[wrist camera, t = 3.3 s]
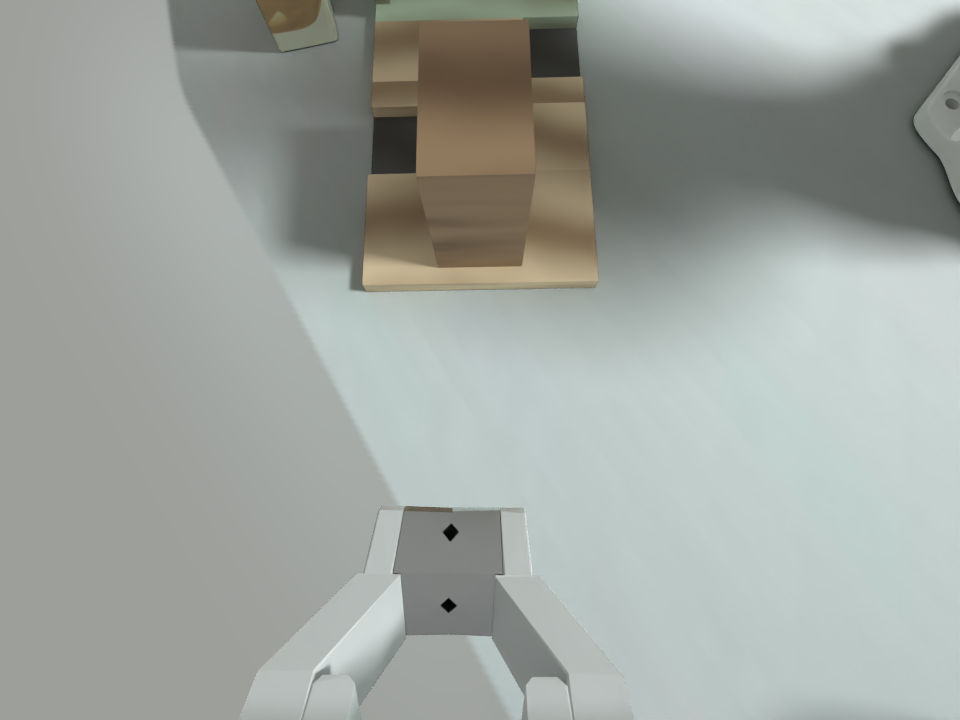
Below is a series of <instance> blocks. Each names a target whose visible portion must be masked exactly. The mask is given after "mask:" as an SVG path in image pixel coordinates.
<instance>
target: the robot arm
mask: <svg viewBox="0 0 960 720" xmlns="http://www.w3.org/2000/svg"><path fill="white" fill-rule="evenodd" d="M914 125H915V128H916V130H917V132H918V133H919V135H920V136H921V137H922V138H923V140H924V141H925V142H926V143H927V144H928V146H929V147H930V148H931V149H932V150H933V151H934V152H935V153H936V154H937V155H938V157H939V158H940V160H941V162H942V163H943V166H944V168H945V170H946V173H947V176H948V179H949V182H950V184H951V187H952V189H953V192H954V194H955V196H956V198H957V200H958V201H959V203H960V56H959V57H958V58H957V60H956V61H955V62H954V64H953V65H952V66H951V68H950V69H949V70H948V71H947V73H946V74H945V75H944V77H943V78H942V79H941V81H940V82H939V83H938V85H937V86H936V87H935V89H934V90H933V91H932V93H931V94H930V95H929V97H928V98H927V99H926V101H925V102H924V103H923V105H922V106H921V107H920V109H919V110H918V111H917V113H916V114H915V116H914ZM448 634H449V635H473V636H492V640H493V641H494V643H495V645H496V647H497V648H498V650H499V652H500V654H501V655H502V657H503V659H504V661H505V663H506V664H507V666H508V668H509V670H510V671H511V673H512V675H513V677H514V678H515V680H516V682H517V684H518V685H519V687H520V689H521V691H522V693H523V694H524V704H523V712H522V720H634V717H633V713H632V709H631V705H630V701H629V697H628V693H627V689H626V685H625V680H624V676H623V675H622V674H621V673H620V671H619V670H618V669H617V668H616V667H615V665H614V664H613V663H612V662H611V661H610V659H609V658H608V657H607V656H606V655H605V653H604V652H603V651H602V650H601V649H600V647H599V646H598V645H597V644H596V643H595V641H594V640H593V639H592V638H591V637H590V635H589V634H588V633H587V632H586V631H585V629H584V628H583V627H582V626H581V625H580V623H579V622H578V621H577V620H576V619H575V617H574V616H573V615H572V614H571V613H570V611H569V610H568V609H567V608H566V607H565V605H564V604H563V603H562V602H561V601H560V599H559V598H558V597H557V596H556V595H555V593H554V592H553V591H552V590H551V589H550V587H549V586H548V585H547V584H546V583H545V581H544V580H543V579H542V578H541V577H540V576H533V574H532V565H531V556H530V548H529V539H528V530H527V521H526V512H525V510H524V508H500V509H499V508H454V507H453V508H440V507H415V506H406V507H403V506H381V508H380V509H379V511H378V515H377V518H376V523H375V527H374V531H373V535H372V539H371V543H370V547H369V551H368V556H367V560H366V564H365V568H364V572H363V574H355V575H354V576H353V577H352V578H351V579H350V580H349V581H348V582H347V583H346V584H345V585H344V586H343V587H342V588H341V589H340V590H339V591H338V592H337V593H336V594H335V595H334V596H333V597H332V598H331V599H330V600H329V601H328V602H327V603H326V604H325V605H324V606H323V607H322V608H321V609H320V610H319V611H318V612H317V613H316V614H315V615H314V616H313V617H312V618H311V619H310V620H309V621H308V622H307V623H306V624H305V625H304V626H303V627H302V628H301V629H300V630H299V631H298V632H297V633H296V634H295V635H294V636H293V637H292V638H291V639H290V640H288V642H287V643H285V645H283V647H282V648H280V650H279V651H278V652H277V653H276V654H274V655H273V656H272V657H271V659H269V660H268V661H267V662H266V663H265V664H264V666H263V667H262V668H260V669H259V670H258V672H257V675H256V677H255V679H254V682H253V685H252V687H251V690H250V692H249V695H248V697H247V700H246V703H245V705H244V708H243V711H242V713H241V716H240V718H239V720H361V714H360V709H359V706H360V705H361V703H362V702H363V700H364V699H365V698H366V696H367V695H368V693H369V692H370V690H371V689H372V687H373V686H374V684H375V683H376V681H377V680H378V679H379V677H380V676H381V674H382V673H383V671H384V670H385V668H386V667H387V665H388V664H389V662H390V661H391V660H392V658H393V657H394V655H395V654H396V652H397V651H398V649H399V648H400V646H401V645H402V644H403V642H404V640H405V639H406V635H448Z"/></svg>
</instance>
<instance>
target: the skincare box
mask: <svg viewBox="0 0 960 720" xmlns="http://www.w3.org/2000/svg"><path fill="white" fill-rule="evenodd" d="M256 2H257V4H258V6H259V8H260V10H261V13H262V15H263V17H264V19H265V21H266V23H267V25H268V27H269V29H270V31H271V33H272V35H273V37H274V39H275V41H276V44H277V46H278V48H279V50H280V51H281V52H284V51H289V50H294V49H299V48H304V47H309V46H314V45H319V44H323V43H328V42H333V41H336V40H337V39H338V34H337V28H336V23H335V18H334V13H333V9H332V5H331V1H330V0H256Z"/></svg>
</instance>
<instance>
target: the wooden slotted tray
mask: <svg viewBox="0 0 960 720" xmlns="http://www.w3.org/2000/svg"><path fill="white" fill-rule="evenodd" d="M375 2H376V16H375V36H374V57H373V77H372V97H371V109H372V112H373V115H374V132H373V153H372V174H368V178H367V199H366V219H365V239H364V260H363V280H362V286H363V287H364V289H365V290H366V292H374V291H427V290H480V289H533V288H586V287H595V286H596V285H597V283H598V281H599V280H598V267H597V253H596V240H595V227H594V214H593V201H592V187H591V174H590V161H589V148H588V135H587V122H586V108H585V95H584V82H583V77H580V72H579V59H578V45H577V32H576V26H577V21H578V3H577V0H375ZM496 20H529V34H530V57H531V79H532V101H533V123H534V145H535V167H536V176H535V183H534V189H533V196H532V202H531V209H530V216H529V222H528V229H527V236H526V242H525V249H524V256H523V262H522V266H509V267H458V268H438V265H437V261H436V257H435V253H434V249H433V245H432V240H431V236H430V232H429V228H428V224H427V220H426V216H425V212H424V208H423V204H422V199H421V195H420V191H419V187H418V183H417V179H416V151H417V106H418V60H419V23H424V22H460V21H496Z"/></svg>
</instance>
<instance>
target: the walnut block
mask: <svg viewBox="0 0 960 720" xmlns="http://www.w3.org/2000/svg"><path fill="white" fill-rule="evenodd" d="M535 176H536V167H535V145H534V123H533V101H532V79H531V57H530V34H529V20H496V21H460V22H424V23H419V60H418V106H417V151H416V179H417V183H418V187H419V191H420V195H421V199H422V204H423V208H424V212H425V216H426V220H427V224H428V228H429V232H430V236H431V240H432V245H433V249H434V253H435V257H436V261H437V265H438V268H458V267H509V266H522V262H523V256H524V249H525V242H526V236H527V229H528V222H529V216H530V209H531V202H532V196H533V189H534V183H535Z"/></svg>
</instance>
